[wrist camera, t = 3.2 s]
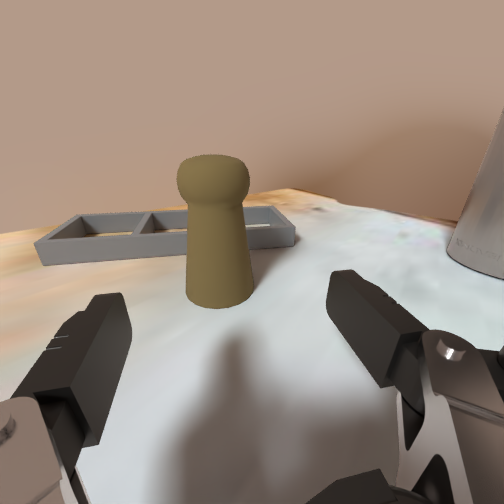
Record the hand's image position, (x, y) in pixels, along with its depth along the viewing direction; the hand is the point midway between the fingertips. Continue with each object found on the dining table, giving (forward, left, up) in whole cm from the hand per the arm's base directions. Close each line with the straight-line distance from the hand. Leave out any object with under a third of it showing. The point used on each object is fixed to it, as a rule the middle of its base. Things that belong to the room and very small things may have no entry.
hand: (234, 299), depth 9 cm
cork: (0, -11, -7) cm, 13 cm away
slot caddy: (+4, -23, -7) cm, 24 cm away
